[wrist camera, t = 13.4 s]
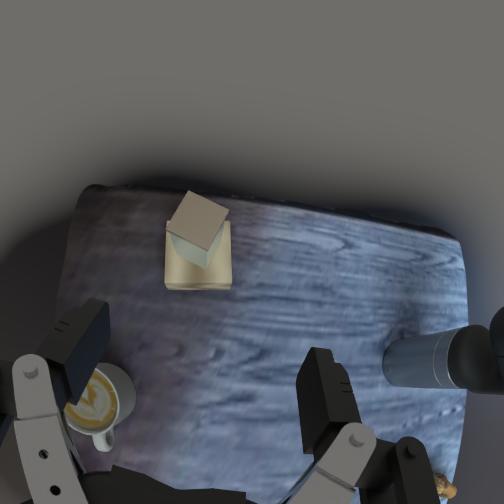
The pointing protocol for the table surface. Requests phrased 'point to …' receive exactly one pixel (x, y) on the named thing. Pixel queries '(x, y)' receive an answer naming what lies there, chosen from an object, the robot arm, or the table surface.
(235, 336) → the table surface
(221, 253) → the maple block
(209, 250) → the sage canister
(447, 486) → the lion figurine
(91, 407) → the coffee mug
